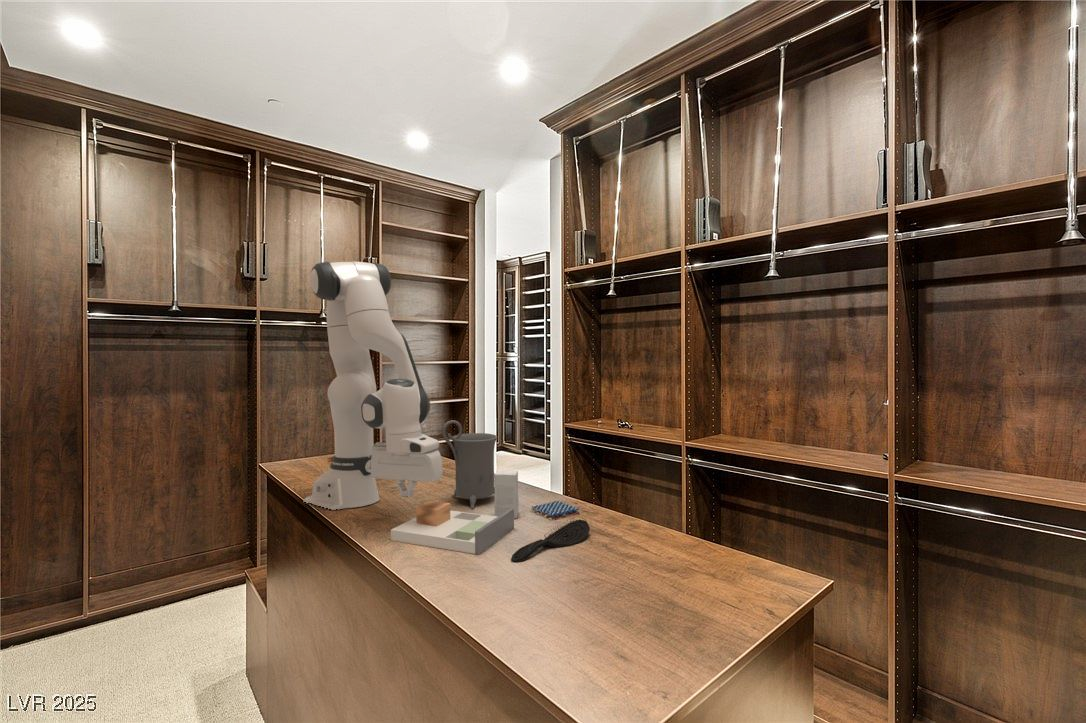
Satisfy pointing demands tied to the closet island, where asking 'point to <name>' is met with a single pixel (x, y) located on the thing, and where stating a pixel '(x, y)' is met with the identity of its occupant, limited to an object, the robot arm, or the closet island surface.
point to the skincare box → (506, 492)
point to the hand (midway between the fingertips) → (407, 496)
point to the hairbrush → (556, 539)
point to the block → (433, 513)
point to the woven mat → (554, 510)
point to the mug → (472, 463)
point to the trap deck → (457, 532)
